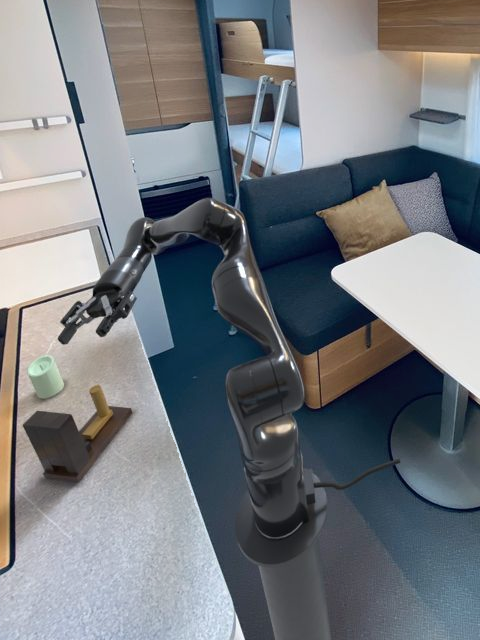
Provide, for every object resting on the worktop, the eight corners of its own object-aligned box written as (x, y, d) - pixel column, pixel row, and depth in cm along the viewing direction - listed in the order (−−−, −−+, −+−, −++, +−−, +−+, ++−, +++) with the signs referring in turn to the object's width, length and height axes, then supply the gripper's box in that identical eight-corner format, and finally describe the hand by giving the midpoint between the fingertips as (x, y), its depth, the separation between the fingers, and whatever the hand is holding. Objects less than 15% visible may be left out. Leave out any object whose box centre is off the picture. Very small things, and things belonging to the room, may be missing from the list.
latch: (103, 410, 90) (85, 363, 85) (132, 412, 89) (116, 365, 84) (45, 478, 76) (19, 427, 71) (78, 482, 76) (55, 431, 70)
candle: (57, 396, 94) (46, 369, 91) (33, 401, 93) (20, 373, 90) (68, 380, 98) (57, 353, 95) (44, 383, 97) (33, 357, 94)
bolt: (104, 412, 87) (94, 384, 84) (113, 413, 87) (103, 385, 84) (83, 438, 82) (70, 409, 79) (92, 439, 82) (80, 410, 78)
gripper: (155, 285, 97) (122, 343, 84) (102, 296, 99) (61, 355, 85) (138, 263, 93) (101, 320, 80) (82, 275, 95) (36, 333, 81)
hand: (80, 338), depth 83 cm, fingers open, 8 cm apart
